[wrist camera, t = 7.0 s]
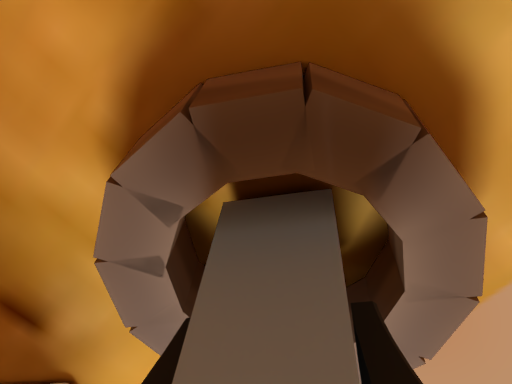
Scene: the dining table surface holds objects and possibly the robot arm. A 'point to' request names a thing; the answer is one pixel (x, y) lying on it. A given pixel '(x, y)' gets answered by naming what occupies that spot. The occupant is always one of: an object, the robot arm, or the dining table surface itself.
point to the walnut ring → (288, 162)
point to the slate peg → (272, 298)
